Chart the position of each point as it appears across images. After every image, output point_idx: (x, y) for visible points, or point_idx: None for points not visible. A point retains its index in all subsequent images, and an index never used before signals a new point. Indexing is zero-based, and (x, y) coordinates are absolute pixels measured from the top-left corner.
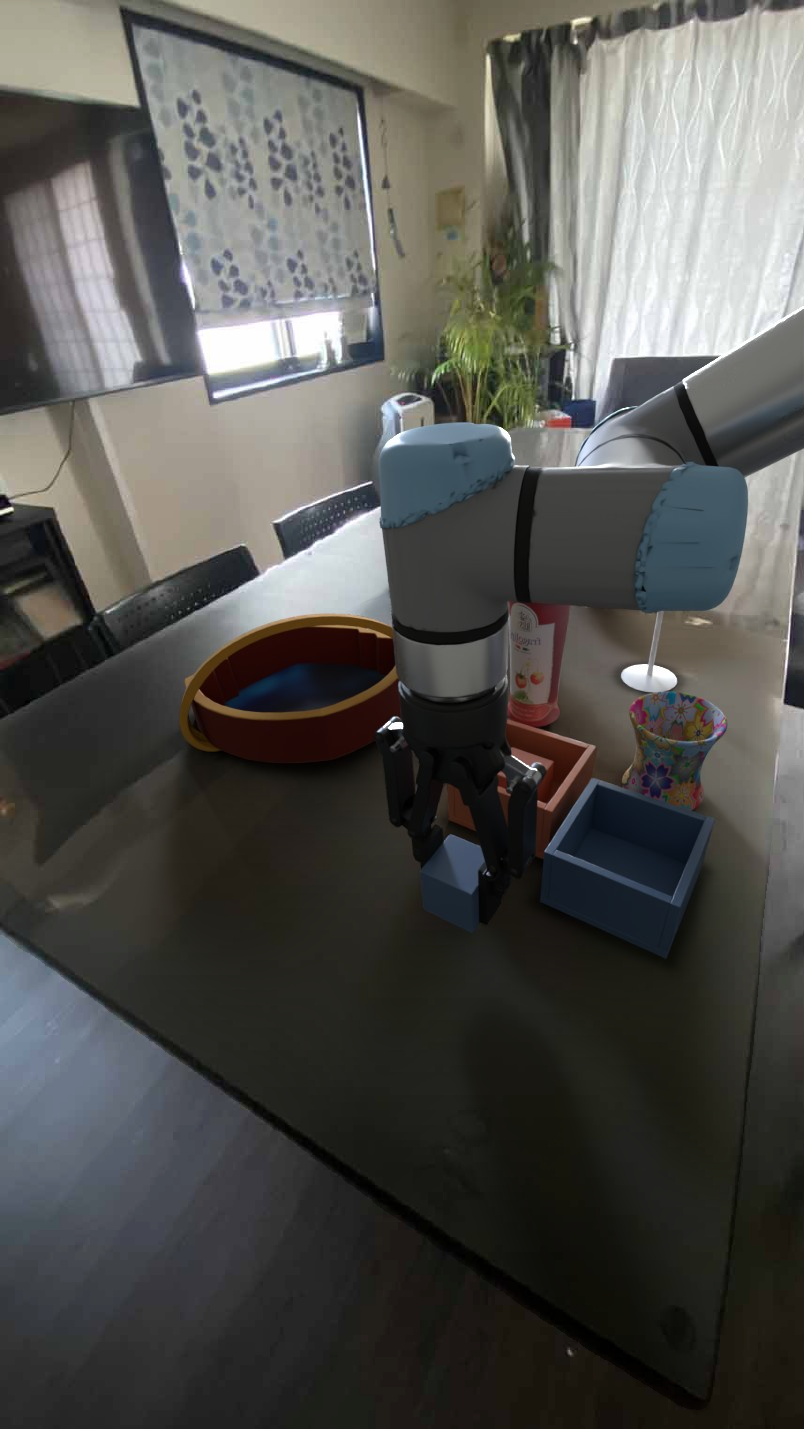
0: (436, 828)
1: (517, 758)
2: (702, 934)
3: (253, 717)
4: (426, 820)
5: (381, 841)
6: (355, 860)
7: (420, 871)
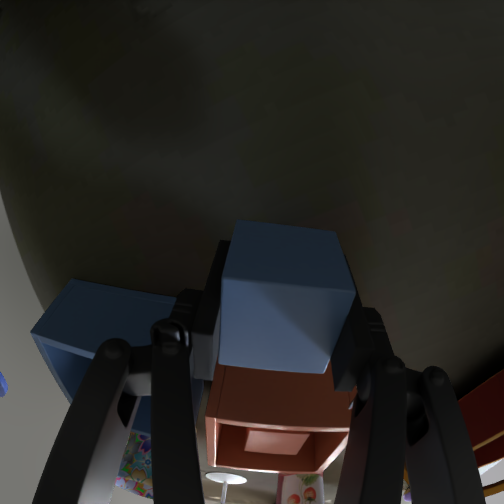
0: (346, 386)
1: (284, 448)
2: None
3: None
4: (365, 414)
5: (425, 310)
6: (450, 274)
7: (354, 291)
